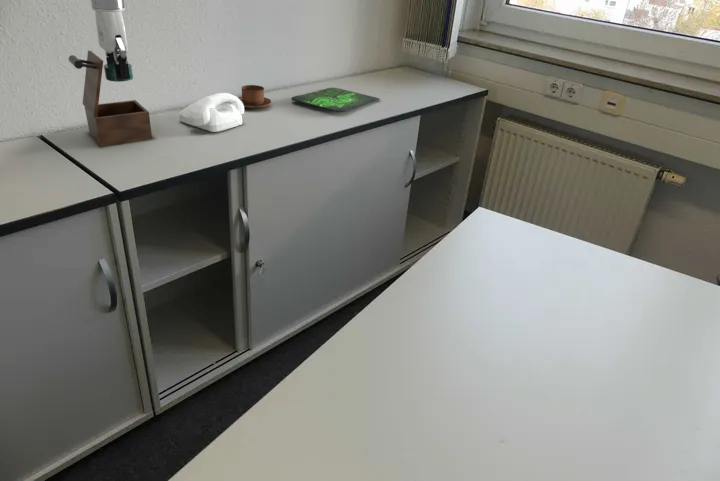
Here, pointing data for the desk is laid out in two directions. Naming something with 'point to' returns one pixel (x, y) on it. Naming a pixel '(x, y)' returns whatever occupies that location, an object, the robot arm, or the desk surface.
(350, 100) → the mouse mat
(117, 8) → the robot arm
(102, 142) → the box
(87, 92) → the lid
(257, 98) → the cup and saucer
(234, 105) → the telephone
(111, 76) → the teal short cylinder
